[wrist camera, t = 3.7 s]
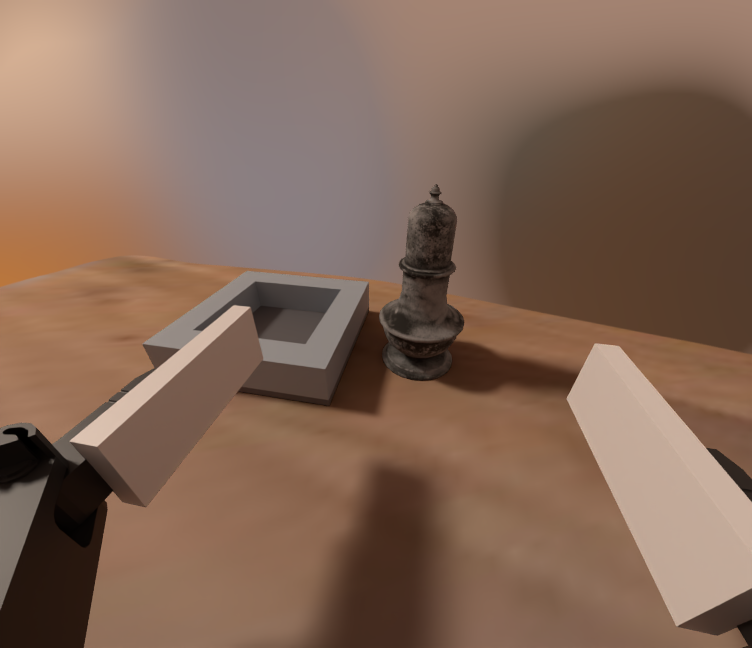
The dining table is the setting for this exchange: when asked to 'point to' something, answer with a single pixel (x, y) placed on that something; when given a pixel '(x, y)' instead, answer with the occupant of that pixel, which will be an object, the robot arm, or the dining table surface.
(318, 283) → the socket block
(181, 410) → the robot arm
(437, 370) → the salt shaker
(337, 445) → the dining table surface
